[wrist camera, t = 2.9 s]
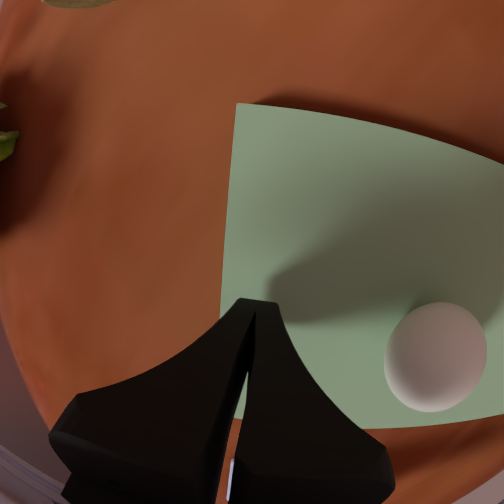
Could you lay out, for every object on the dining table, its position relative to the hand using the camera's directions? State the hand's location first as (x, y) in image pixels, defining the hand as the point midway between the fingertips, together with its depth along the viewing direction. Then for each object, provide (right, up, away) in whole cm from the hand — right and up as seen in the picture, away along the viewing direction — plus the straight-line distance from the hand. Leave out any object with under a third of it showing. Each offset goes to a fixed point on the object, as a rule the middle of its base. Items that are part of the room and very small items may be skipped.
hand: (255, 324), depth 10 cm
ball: (+6, -1, -1) cm, 7 cm away
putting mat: (+12, -1, +1) cm, 12 cm away
